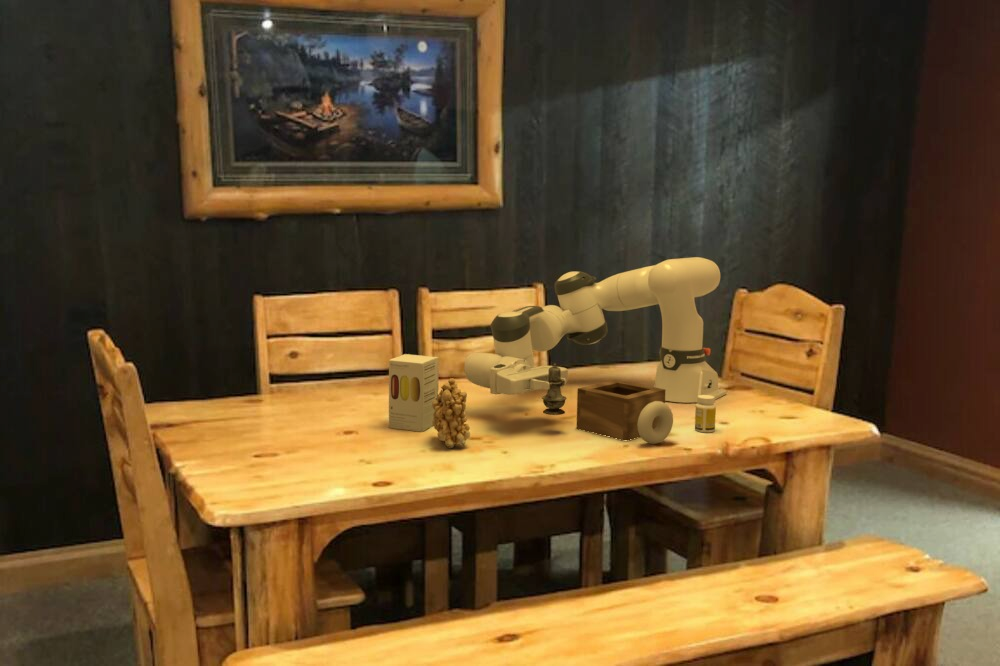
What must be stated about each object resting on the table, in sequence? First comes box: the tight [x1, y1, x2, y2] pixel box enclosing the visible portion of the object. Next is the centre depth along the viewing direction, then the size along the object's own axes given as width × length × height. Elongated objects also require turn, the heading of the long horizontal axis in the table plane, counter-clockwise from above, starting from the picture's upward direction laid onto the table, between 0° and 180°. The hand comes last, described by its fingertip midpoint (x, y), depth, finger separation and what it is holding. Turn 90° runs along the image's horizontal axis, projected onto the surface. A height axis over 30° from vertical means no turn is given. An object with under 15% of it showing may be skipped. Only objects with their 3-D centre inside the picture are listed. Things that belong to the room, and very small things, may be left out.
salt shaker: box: [541, 362, 567, 416], centre depth 218 cm, size 6×6×12 cm
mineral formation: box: [432, 377, 471, 449], centre depth 208 cm, size 8×13×15 cm, turn 21°
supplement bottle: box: [694, 395, 717, 434], centre depth 222 cm, size 5×5×8 cm
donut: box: [637, 401, 674, 445], centre depth 210 cm, size 10×4×10 cm, turn 125°
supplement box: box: [388, 353, 440, 433], centre depth 223 cm, size 10×9×17 cm
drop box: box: [576, 379, 666, 441], centre depth 222 cm, size 15×15×10 cm
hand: (557, 384), depth 217 cm, fingers closed on salt shaker, 4 cm apart
